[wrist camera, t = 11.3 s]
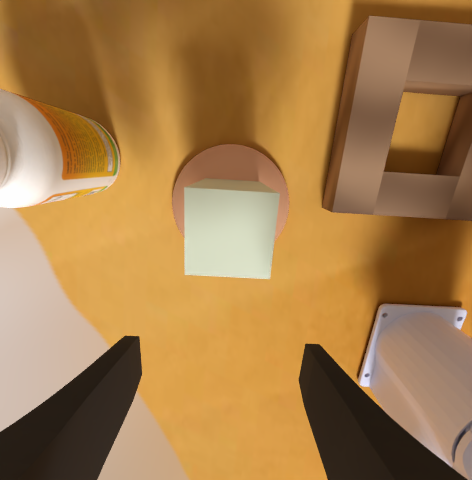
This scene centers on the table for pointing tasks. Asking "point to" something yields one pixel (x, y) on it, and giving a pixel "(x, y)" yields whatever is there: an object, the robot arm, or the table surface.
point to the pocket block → (385, 113)
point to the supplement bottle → (51, 153)
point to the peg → (229, 228)
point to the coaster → (231, 176)
